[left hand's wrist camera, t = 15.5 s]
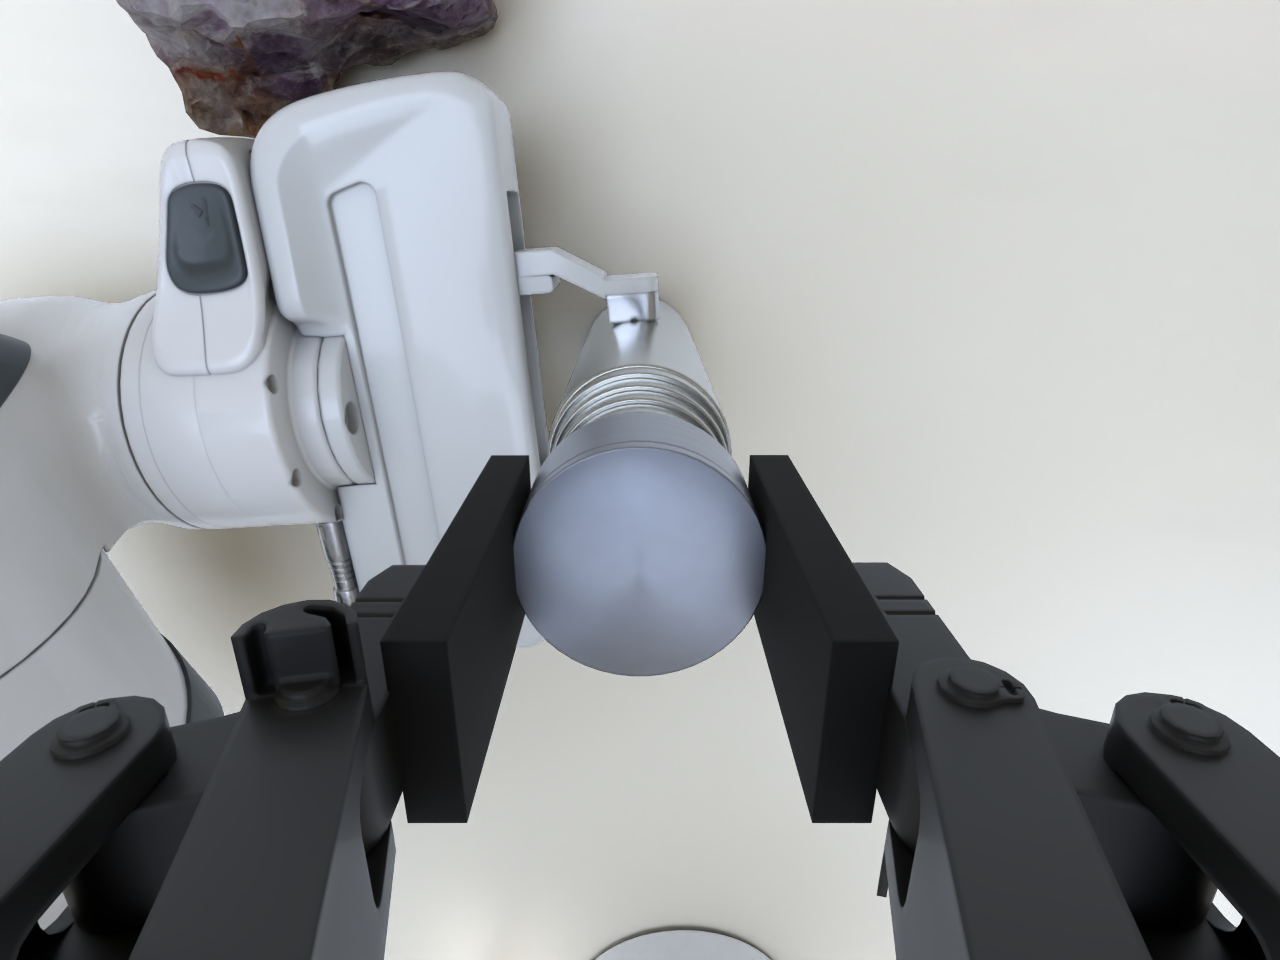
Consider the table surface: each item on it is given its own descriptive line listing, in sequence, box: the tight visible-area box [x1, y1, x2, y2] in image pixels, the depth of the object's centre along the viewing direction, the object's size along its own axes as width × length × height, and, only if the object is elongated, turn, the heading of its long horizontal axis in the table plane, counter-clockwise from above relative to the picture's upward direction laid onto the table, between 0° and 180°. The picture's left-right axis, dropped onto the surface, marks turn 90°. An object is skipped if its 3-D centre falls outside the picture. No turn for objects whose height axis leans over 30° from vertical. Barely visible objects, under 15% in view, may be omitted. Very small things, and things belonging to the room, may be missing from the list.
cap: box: [513, 412, 766, 676], centre depth 14 cm, size 4×4×2 cm
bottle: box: [548, 300, 732, 457], centre depth 22 cm, size 5×5×20 cm
